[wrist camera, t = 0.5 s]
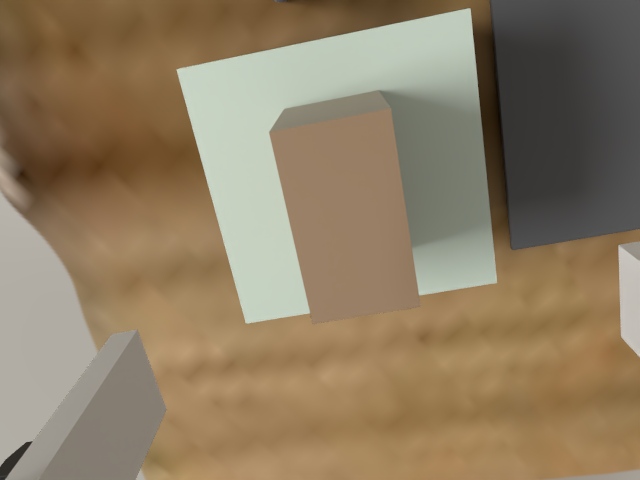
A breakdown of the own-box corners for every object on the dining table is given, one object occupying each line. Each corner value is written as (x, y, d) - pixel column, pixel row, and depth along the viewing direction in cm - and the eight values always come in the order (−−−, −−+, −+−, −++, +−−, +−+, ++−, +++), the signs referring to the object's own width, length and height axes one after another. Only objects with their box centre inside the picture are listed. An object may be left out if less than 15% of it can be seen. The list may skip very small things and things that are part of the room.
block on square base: (189, 66, 32) (129, 81, 22) (459, 9, 30) (511, 1, 21) (252, 303, 37) (224, 393, 28) (485, 264, 35) (537, 346, 26)
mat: (489, -7, 37) (491, -7, 36) (782, -69, 35) (788, -70, 34) (510, 247, 43) (512, 250, 42) (761, 205, 41) (766, 207, 41)
